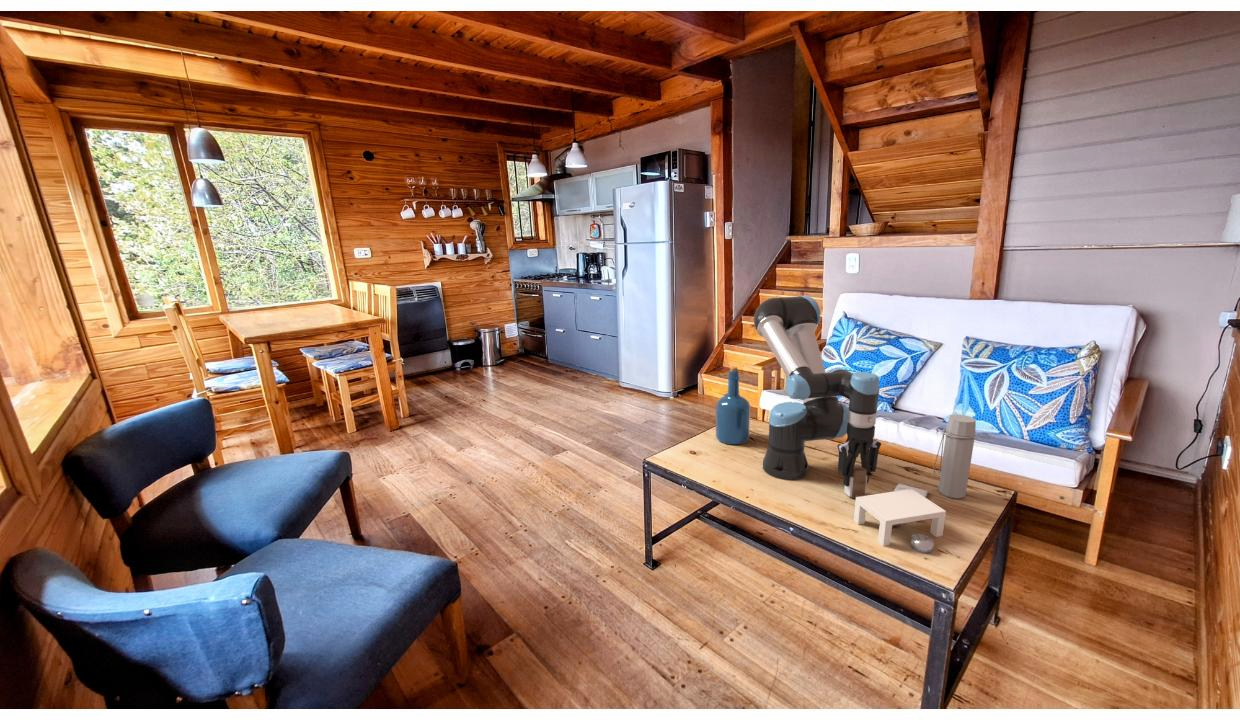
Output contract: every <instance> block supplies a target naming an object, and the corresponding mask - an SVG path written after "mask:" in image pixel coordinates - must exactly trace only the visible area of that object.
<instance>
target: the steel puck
mask: <svg viewBox="0 0 1240 720" xmlns="http://www.w3.org/2000/svg"><path fill="white" fill-rule="evenodd" d="M910 537H911V538H910V544H909V545H910V548H911V549H912V550H914V551H915V552H918V553H919V554H925V555H927V554H928V555H929V554H932V553H933V551H934V545H935V541H934V540H933V538H931V537H930V536H928V535H925V534H921V533H914V534H912V535H911V536H910Z"/></svg>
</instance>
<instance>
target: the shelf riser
mask: <svg viewBox="0 0 1240 720" xmlns="http://www.w3.org/2000/svg"><path fill="white" fill-rule="evenodd" d="M893 491H894V490H893ZM893 491H889V492H888V491H887V492H882V493H876V494H875V493H874V494H870V495H869V494H868V495H866V496H861V497H856V498H855V502H854V515H853V522H855V523H856V524H857V525H864V524H866V523H865V521H866V512H867V513H869V514H870V515H871V516H872V517H873V518H875V519H876V520H877V521H878V522H879V529H878V538H877V543H879V544H880V545H881V546H882V547H886V546H890V545H891V538H892V529H893V527H892V525H895V524H901V525H902V524H907V523H913V522H919V521H924V520H930V519H931V524H930V531H929V532H930V534H931V535H933V537H936V538H938V537H943V534H944V528H945V521H946V516H947V515H946V514H947V511H946V510H945V509H943V508H942V507H941V506H939V505H937V504H936V503H934V502H933V501H931V500H929V499H928V498H927V497H926V498H925V497H924V496H922V495H920V494H919V493H917V492H916V491H914V490H913V489H907V490H901V491H894V492H893Z"/></svg>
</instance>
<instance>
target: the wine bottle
mask: <svg viewBox="0 0 1240 720" xmlns="http://www.w3.org/2000/svg"><path fill="white" fill-rule="evenodd" d="M727 375H728V377H727V379H728V381H727V393H725V394H724V395H723V396H722V397H720V398H719V399H718V401H717V402H716V404H715V437H716V439H717V440H718V441H719V442H721V443H722V444H723V443H724V444H728V445H743V444H744V443H747V442H748V441H749V439H750V426H751V404H750V402H749V400H748V399H746V398H745V397H743V396H742V395H740V371H739V370H738V367H737V366H731V367H730V368H729V370H728V374H727Z"/></svg>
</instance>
